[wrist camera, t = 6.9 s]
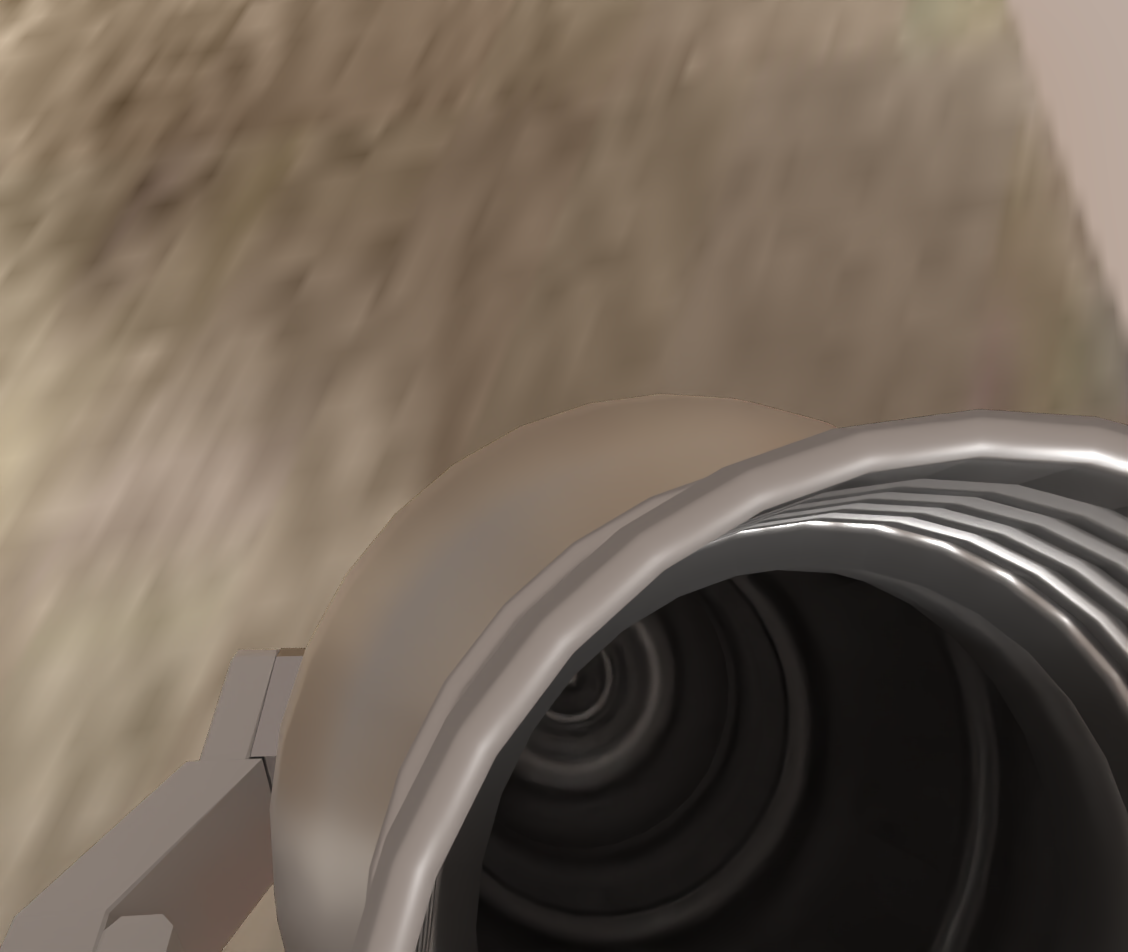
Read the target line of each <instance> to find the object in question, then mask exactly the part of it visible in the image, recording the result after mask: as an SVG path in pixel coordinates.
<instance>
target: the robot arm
mask: <svg viewBox="0 0 1128 952" xmlns="http://www.w3.org/2000/svg"><path fill="white" fill-rule="evenodd" d="M305 649H306V648H281V649H239V650H238V651H237V652H236V654H235V655H234V656H233V658H232V659H231V661H230V665H229V668H228V671H227V674H226V677H225V680H224V684H223V687H222V690H221V693H220V696H219V699H218V703H217V706H216V709H215V712H214V715H213V718H212V722H211V725H210V728H209V731H208V734H207V737H206V741H205V744H204V747H203V750H202V753H201V756H200V759H199V761H186V762H185V763H184V764H183V765H182V766H181V767H179V768H178V769H177V770H176V771H175V772H174V773H173V774H172V775H171V776H169V777H168V778H167V779H166V780H165V781H164V782H163V783H162V784H161V785H160V786H158V787H157V788H156V789H155V790H154V791H153V792H152V793H151V794H150V795H148V796H147V797H146V798H145V799H144V800H143V801H142V802H141V803H140V804H138V805H137V806H136V807H135V808H134V809H133V810H132V811H131V812H130V813H129V814H127V815H126V816H125V817H124V818H123V819H122V820H121V821H120V822H119V823H117V824H116V825H115V826H114V827H113V828H112V829H111V830H110V831H109V832H107V833H106V834H105V835H104V836H103V837H102V838H101V839H100V840H99V841H98V842H96V843H95V844H94V845H93V846H92V847H91V848H90V849H89V850H88V851H86V852H85V853H84V854H83V855H82V856H81V857H80V858H79V859H78V860H76V861H75V862H74V863H73V864H72V865H71V866H70V867H69V868H68V869H67V870H65V871H64V872H63V873H62V874H61V875H60V876H59V877H58V878H57V879H55V880H54V881H53V882H52V883H51V884H50V885H49V886H48V887H47V888H46V889H44V890H43V891H42V892H41V893H40V894H39V895H38V896H37V897H36V898H34V899H33V900H32V901H31V902H30V903H29V904H28V905H27V906H26V907H24V908H23V909H22V910H21V911H20V912H19V913H18V914H17V915H16V916H15V917H14V919H13V921H12V923H11V925H10V928H9V930H8V932H7V934H6V937H5V939H4V941H3V944H2V946H1V948H0V952H221V951H222V949H223V948H224V947H225V945H226V944H227V943H228V941H229V940H230V939H231V937H232V936H233V935H234V934H235V932H236V931H237V930H238V928H239V927H240V926H241V924H242V923H243V922H244V920H245V919H246V918H247V917H248V915H249V914H250V913H251V911H252V910H253V909H254V907H255V906H256V905H257V903H258V902H259V901H260V900H261V898H262V897H263V896H264V894H265V893H266V892H267V890H268V889H269V888H270V886H271V885H272V884H273V883H274V881H273V863H272V845H271V828H270V810H269V809H270V801H271V793H272V786H273V778H274V771H275V763H276V756H277V748H278V741H279V733H280V725H281V722H282V719H283V716H284V713H285V710H286V707H287V704H288V701H289V698H290V695H291V692H292V689H293V686H294V683H295V680H296V677H297V673H298V670H299V667H300V664H301V661H302V658H303V655H304V652H305Z"/></svg>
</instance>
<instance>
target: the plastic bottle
mask: <svg viewBox="0 0 1128 952" xmlns="http://www.w3.org/2000/svg"><path fill="white" fill-rule="evenodd" d="M269 810H270V828H271V845H272V863H273V881H274V896H275V904H276V912H277V921H278V925H279V929H280V932H281V936H282V940H283V944H284V948H285V952H1128V425H1126V424H1122V423H1118V422H1115V421H1111V420H1107V419H1103V418H1100V417H1093V416H1077V415H1062V414H1046V413H1031V412H1015V411H1000V410H984V409H976V410H968V411H961V412H954V413H947V414H937V415H930V416H923V417H915V418H908V419H901V420H894V421H886V422H879V423H872V424H865V425H857V426H850V427H843V428H837V427H835V426H833V425H831V424H829V423H827V422H825V421H821V420H817V419H813V418H810V417H806V416H802V415H798V414H795V413H791V412H787V411H783V410H780V409H776V408H772V407H768V406H765V405H761V404H757V403H753V402H748V401H744V400H739V399H734V398H721V397H706V396H690V395H675V394H655V395H647V396H639V397H632V398H624V399H617V400H609V401H602V402H594V403H588V404H585V405H582V406H579V407H576V408H573V409H570V410H568V411H565V412H562V413H559V414H556V415H553V416H550V417H547V418H544V419H541V420H538V421H535V422H532V423H529V424H526V425H523V426H520V427H518V428H516V429H515V430H513V431H511V432H509V433H508V434H506V435H504V436H502V437H500V438H499V439H497V440H495V441H493V442H492V443H490V444H488V445H486V446H485V447H483V448H481V449H479V450H478V451H476V452H474V453H472V454H470V455H469V456H467V457H465V458H463V459H462V460H460V461H458V462H456V463H455V464H453V465H452V466H451V467H450V468H449V469H447V470H446V471H445V472H444V473H443V474H441V475H440V476H439V477H438V478H437V479H436V480H434V481H433V482H432V483H431V484H430V485H428V486H427V487H426V488H425V489H424V490H423V491H421V492H420V493H419V494H418V495H417V496H416V497H414V498H413V499H412V500H411V501H410V502H408V503H407V504H406V505H405V506H404V507H403V508H401V509H400V510H399V511H398V512H397V513H396V514H395V515H394V516H393V517H392V518H391V519H390V521H389V522H388V523H387V524H386V526H385V527H384V528H383V529H382V531H381V532H380V533H379V534H378V536H377V537H376V538H375V539H374V540H373V542H372V543H371V544H370V545H369V547H368V548H367V549H366V550H365V552H364V553H363V554H362V555H361V556H360V558H359V559H358V560H357V561H356V563H355V564H354V565H353V566H352V568H351V569H350V570H349V571H348V572H347V574H346V575H345V576H344V578H343V580H342V582H341V584H340V586H339V588H338V589H337V591H336V593H335V595H334V597H333V599H332V600H331V602H330V604H329V606H328V608H327V610H326V611H325V613H324V615H323V617H322V619H321V621H320V622H319V624H318V626H317V628H316V630H315V632H314V633H313V635H312V637H311V639H310V641H309V643H308V644H307V646H306V649H305V652H304V655H303V658H302V661H301V664H300V667H299V670H298V673H297V677H296V680H295V683H294V686H293V689H292V692H291V695H290V698H289V701H288V704H287V707H286V710H285V713H284V716H283V719H282V722H281V725H280V733H279V741H278V748H277V756H276V763H275V771H274V778H273V786H272V793H271V801H270V809H269Z"/></svg>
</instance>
